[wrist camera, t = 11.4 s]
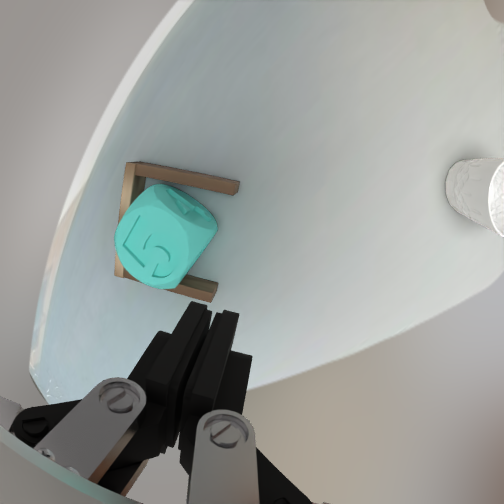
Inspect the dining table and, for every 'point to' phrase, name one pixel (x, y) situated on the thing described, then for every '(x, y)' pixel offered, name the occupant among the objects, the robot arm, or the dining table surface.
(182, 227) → the decorative dice
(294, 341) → the dining table surface
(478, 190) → the white cup
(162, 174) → the corral
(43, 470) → the robot arm
